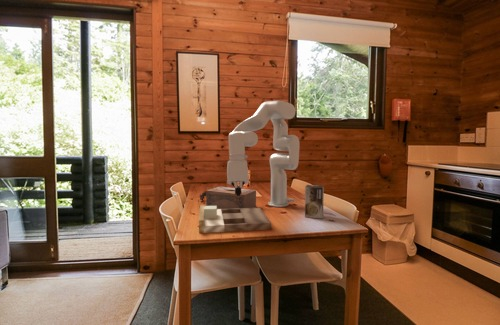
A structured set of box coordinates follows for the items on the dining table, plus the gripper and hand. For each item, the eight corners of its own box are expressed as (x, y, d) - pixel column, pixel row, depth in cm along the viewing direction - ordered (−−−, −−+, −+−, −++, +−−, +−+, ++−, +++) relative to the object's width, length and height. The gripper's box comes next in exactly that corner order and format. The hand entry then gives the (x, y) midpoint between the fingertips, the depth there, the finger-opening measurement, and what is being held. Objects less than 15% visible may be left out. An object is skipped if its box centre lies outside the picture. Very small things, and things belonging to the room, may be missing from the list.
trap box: (259, 212, 152) (259, 203, 152) (271, 229, 126) (271, 217, 125) (200, 215, 147) (199, 205, 147) (199, 232, 121) (198, 220, 120)
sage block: (216, 214, 138) (216, 205, 138) (216, 218, 132) (216, 208, 132) (204, 214, 138) (204, 205, 137) (203, 218, 132) (203, 209, 131)
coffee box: (323, 215, 148) (324, 185, 146) (322, 218, 142) (323, 187, 140) (306, 213, 151) (306, 184, 149) (304, 217, 145) (305, 186, 143)
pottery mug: (212, 204, 173) (205, 193, 172) (201, 209, 178) (195, 198, 177) (221, 195, 184) (214, 185, 183) (211, 200, 188) (204, 190, 187)
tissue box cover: (255, 206, 167) (256, 190, 166) (244, 212, 154) (244, 194, 153) (219, 201, 179) (219, 186, 178) (206, 206, 166) (206, 190, 165)
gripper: (251, 156, 139) (252, 192, 141) (221, 157, 137) (222, 194, 139) (253, 158, 131) (254, 196, 134) (221, 159, 129) (223, 198, 132)
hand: (238, 195), depth 137 cm, fingers closed
